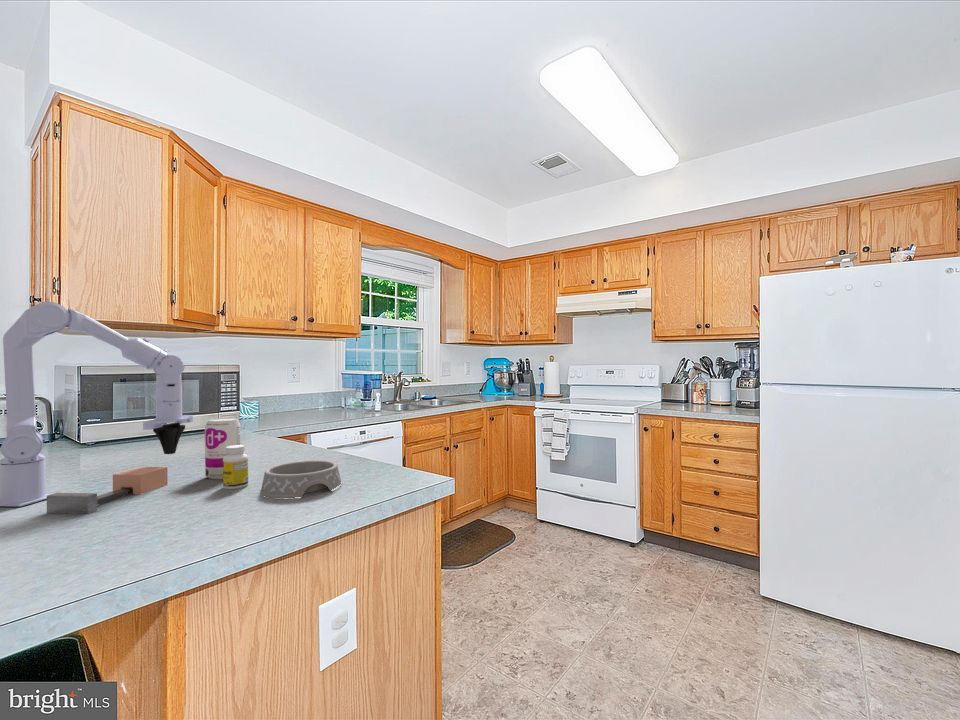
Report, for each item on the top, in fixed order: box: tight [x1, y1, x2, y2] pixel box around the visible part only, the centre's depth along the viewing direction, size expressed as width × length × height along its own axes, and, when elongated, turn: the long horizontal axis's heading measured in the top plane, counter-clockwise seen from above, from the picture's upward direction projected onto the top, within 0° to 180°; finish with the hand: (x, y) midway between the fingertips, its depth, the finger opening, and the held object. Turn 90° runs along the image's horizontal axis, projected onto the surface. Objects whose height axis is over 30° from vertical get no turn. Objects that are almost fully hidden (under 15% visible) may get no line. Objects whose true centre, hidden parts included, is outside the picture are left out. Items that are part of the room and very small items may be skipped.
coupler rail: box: [46, 490, 129, 515], centre depth 99 cm, size 9×13×4 cm
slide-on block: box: [112, 466, 169, 495], centre depth 110 cm, size 7×8×4 cm
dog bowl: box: [259, 460, 342, 499], centre depth 109 cm, size 17×18×5 cm
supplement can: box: [204, 417, 242, 480], centre depth 122 cm, size 8×8×15 cm
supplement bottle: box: [222, 444, 249, 490], centre depth 111 cm, size 5×5×10 cm
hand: (169, 453), depth 119 cm, fingers closed
